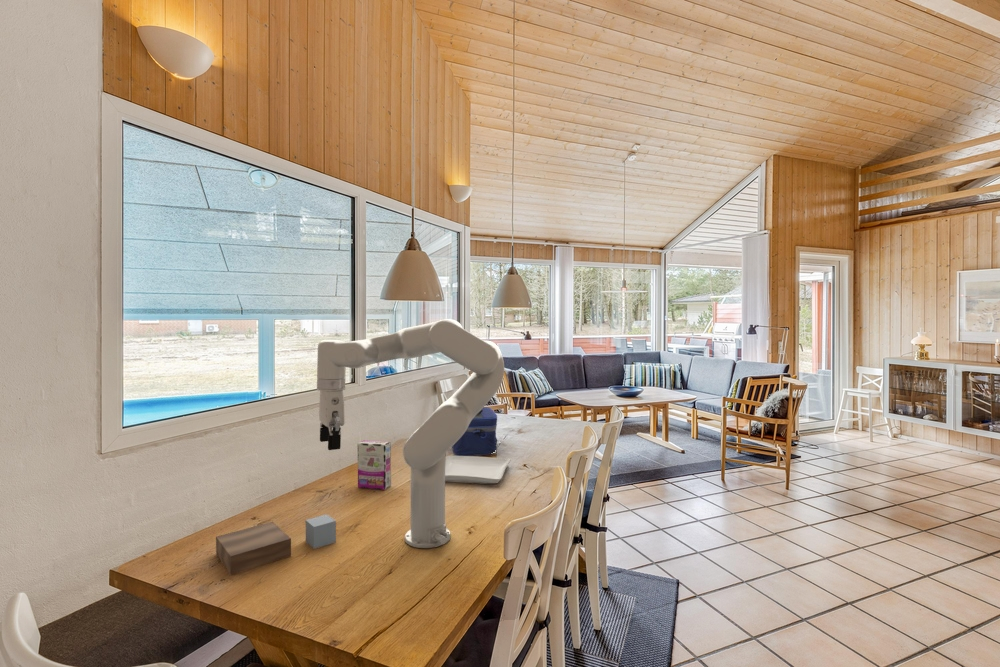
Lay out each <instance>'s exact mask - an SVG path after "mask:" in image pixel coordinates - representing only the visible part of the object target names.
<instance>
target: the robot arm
mask: <svg viewBox="0 0 1000 667" xmlns="http://www.w3.org/2000/svg"><path fill="white" fill-rule="evenodd" d="M438 353H441V354H442V355H444V356H446V358H448V359H451V360H452V361H454V362H456V363H457V364H459V365H461V366H462V367H464V368H465V369H467V370H469V371H470V372H472V373H471V375H470V376H469V377H468V378H467V379H466V380H465V382H464V383H463V384H462V385H460V387H459V388H457V390H456V391H455V392H454V393H453V394H452V395H451V396H450V397H449V398H448V399H447V400H445V401H444V402H442V403H441V404H440V405H438V407H437V408H436V409H435V410H434V411H433V413H432V414H430V416H429V417H428V418H427V419H426V420H425V421H424V422H423V423H422V424H421V425H420V426H419V427H418V428H417V429H415V430H414V431H413V433H412V434H411V435H410V436H409V437H408V439H407V440H406V441H405V443H404V446H403V449H402V451H403V452H402V455H403V459H404V461H405V463H406V464H407V466H408V467H409V468H410V529H409V530H408V531H407V532H405V535H404V541H405V543H406V544H408V545H409V546H411V547H413V548H419V549H433V548H436V547H437V548H439V547H441V546H443V545H445V544H446V543H448V542H449V541H450V539H451V531H450V530H449V529H448V528H447V524H446V481H445V463H446V457H447V453H448V451H449V450H450V449H452V446H453V445H454V444H455V443H456V442H457V441H458V440H459V439H460V438H461V437H462V435H463V434H464V433H465V431H466V430H467V428H468V426H469V424H470V422H471V421H472V419H473V418H474V417H475V416H476V415H477V414H478V413H479V412H480V411H481V410H482V408H483V407H485V406H486V405H487V404H488V403H489V402H490V400H491V399H492V398H493V397H494V396H495V394H496V393H497V392H498V390H499V388H500V387H501V385H502V383H503V382H502V381H503V379H504V376H505V375H504V374H505V362H504V357H503V354H502V352H501V349H500V348H499V346H498V345H497V344H496V343H495V342H494V341H490V340H483V339H481V337H478V336H477V335H475V334H473V333H472V332H469V331H468V330H467V329H464V328H463V325H462V324H461V323H460V322H459V321H457V320H455V319H453V318H451V319H449V318H448V319H447V318H446V319H445V318H444V319H440V320H437V321H433V322H428V323H425V324H419V325H415V326H409V327H405V328H402V329H400V330H398V331H396V332H393V333H389V334H386V335H385V334H384V335H380V336H377V337H376V336H375V337H371V338H366V339H358V340H351V341H343V340H339V339H324V340H321V341H319V342H318V344H317V356H316V357H317V359H316V360H317V361H316V362H317V363H316V364H317V365H316V367H317V368H316V370H317V371H316V378H317V379H316V390H317V391H318V392H320V393H319V403H318V404H319V406H318V407H319V409H318V415H319V422H320V424H319V425H320V427H319V441H320V442H322V443H323V442H327V449H328V451H334V450H340V449H341V446H342V445H341V437H342V431H341V430H342V428H341V427H343V426H344V425H345V399H344V398H345V397H344V391H345V390H346V376H347V374H346V372H347V371H346V370H347V369H346V368H348V369H349V368H350V369H360V368H363V367H367V366H371V365H373V364H374V365H375V364H378V363H379V364H380V363H384V362H388V361H392V360H393V361H394V360H397V359H398V360H399V359H401V360H402V359H404V360H405V359H406V360H409V359H415V358H420V357H423V356H428V355H432V354H433V355H434V354H438Z"/></svg>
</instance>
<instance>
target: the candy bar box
mask: <svg viewBox="0 0 1000 667" xmlns="http://www.w3.org/2000/svg"><path fill="white" fill-rule="evenodd" d="M391 486H392V442H391V441H382V440H380V441H379V440H361V441H360V442H358V443H357V488H358V489H359V488H361V489H369V490H380V491H385V490H387V489H389V488H390V487H391Z"/></svg>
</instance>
